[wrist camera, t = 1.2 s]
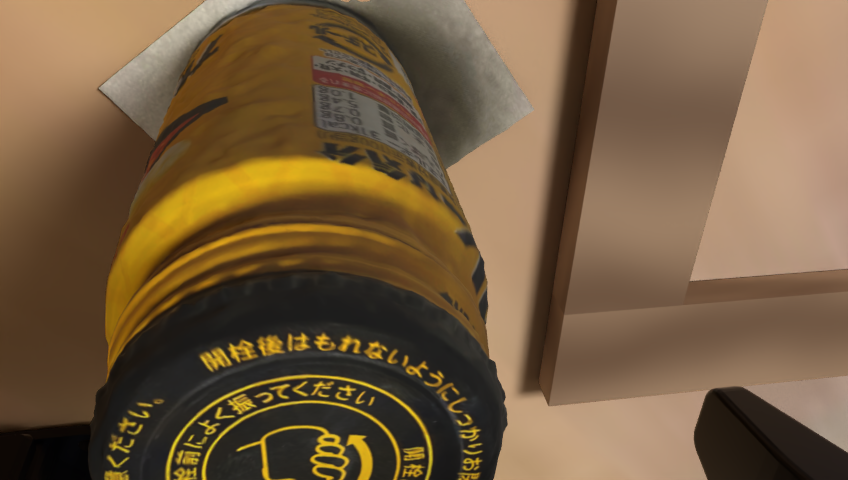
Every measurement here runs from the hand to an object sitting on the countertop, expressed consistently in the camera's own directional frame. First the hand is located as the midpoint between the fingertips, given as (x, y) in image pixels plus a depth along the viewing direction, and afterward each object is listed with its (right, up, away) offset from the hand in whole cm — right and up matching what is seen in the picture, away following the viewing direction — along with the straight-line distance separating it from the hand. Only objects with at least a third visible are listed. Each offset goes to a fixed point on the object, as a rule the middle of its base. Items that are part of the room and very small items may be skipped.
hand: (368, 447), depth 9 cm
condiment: (-2, +6, +10) cm, 12 cm away
